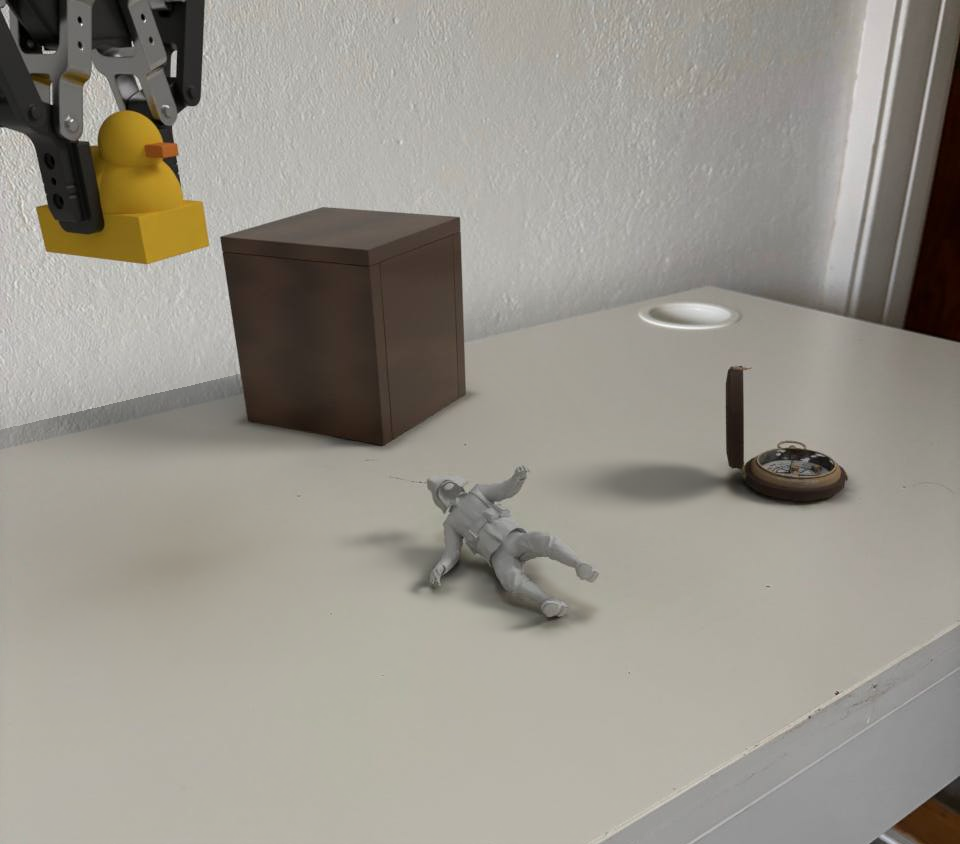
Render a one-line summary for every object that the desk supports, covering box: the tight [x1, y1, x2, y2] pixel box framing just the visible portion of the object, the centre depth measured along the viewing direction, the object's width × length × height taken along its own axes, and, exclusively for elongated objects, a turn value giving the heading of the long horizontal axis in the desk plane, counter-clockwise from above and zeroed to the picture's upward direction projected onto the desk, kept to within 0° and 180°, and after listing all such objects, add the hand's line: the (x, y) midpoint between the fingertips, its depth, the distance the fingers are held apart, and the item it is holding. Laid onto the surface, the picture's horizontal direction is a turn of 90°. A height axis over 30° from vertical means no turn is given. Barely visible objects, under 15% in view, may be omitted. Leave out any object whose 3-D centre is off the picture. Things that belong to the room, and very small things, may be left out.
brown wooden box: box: [219, 206, 467, 446], centre depth 75 cm, size 12×12×13 cm
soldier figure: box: [426, 465, 600, 618], centre depth 54 cm, size 8×5×12 cm
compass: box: [725, 365, 849, 502], centre depth 63 cm, size 8×8×7 cm
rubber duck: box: [35, 110, 210, 265], centre depth 47 cm, size 7×4×6 cm, turn 62°
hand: (122, 220), depth 48 cm, fingers closed on rubber duck, 4 cm apart
